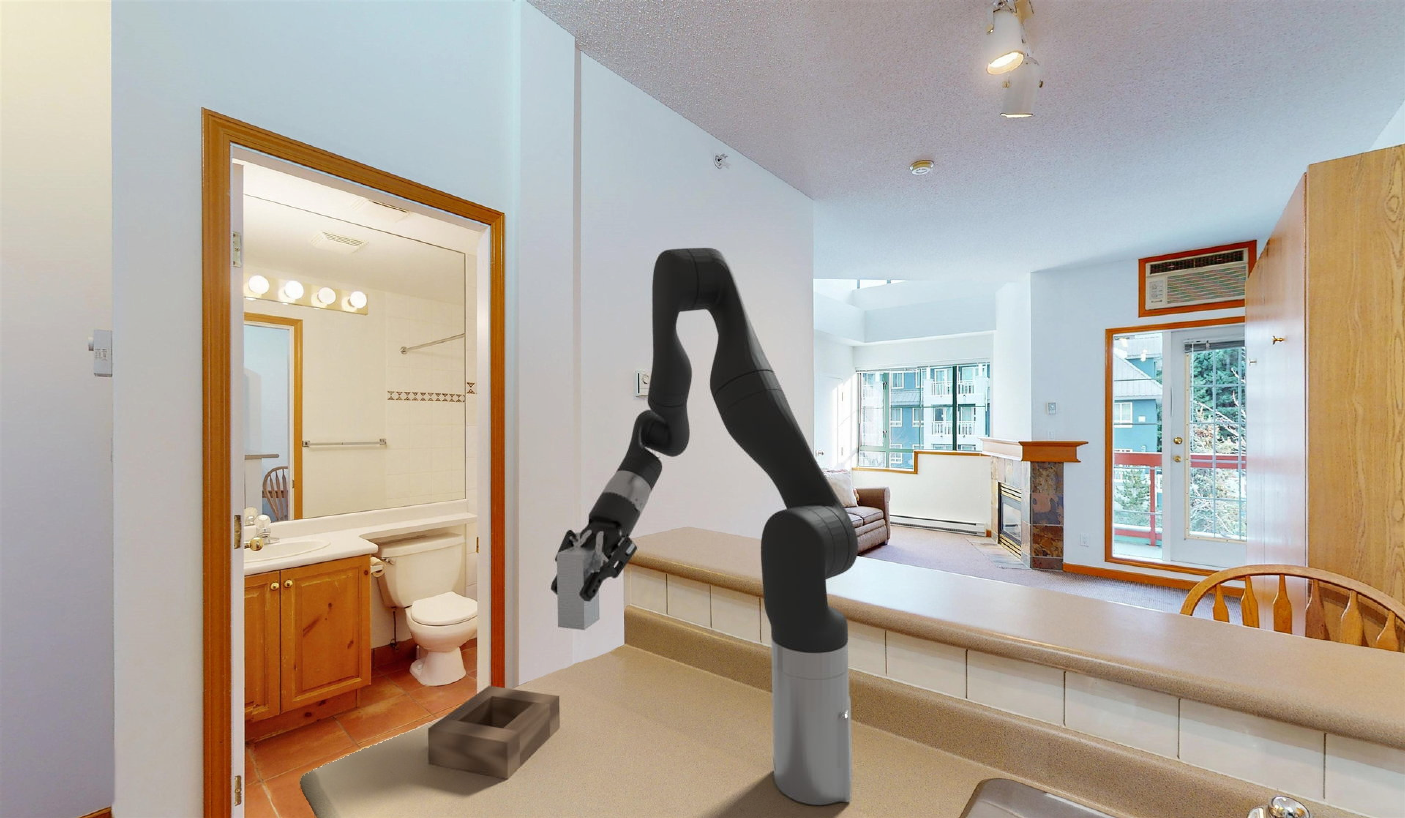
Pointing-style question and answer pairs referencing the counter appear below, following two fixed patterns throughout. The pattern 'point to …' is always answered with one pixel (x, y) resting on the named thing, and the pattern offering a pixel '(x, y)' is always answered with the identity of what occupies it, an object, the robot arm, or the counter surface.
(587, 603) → the grey square pillar
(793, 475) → the robot arm
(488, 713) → the well block
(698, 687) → the counter surface
